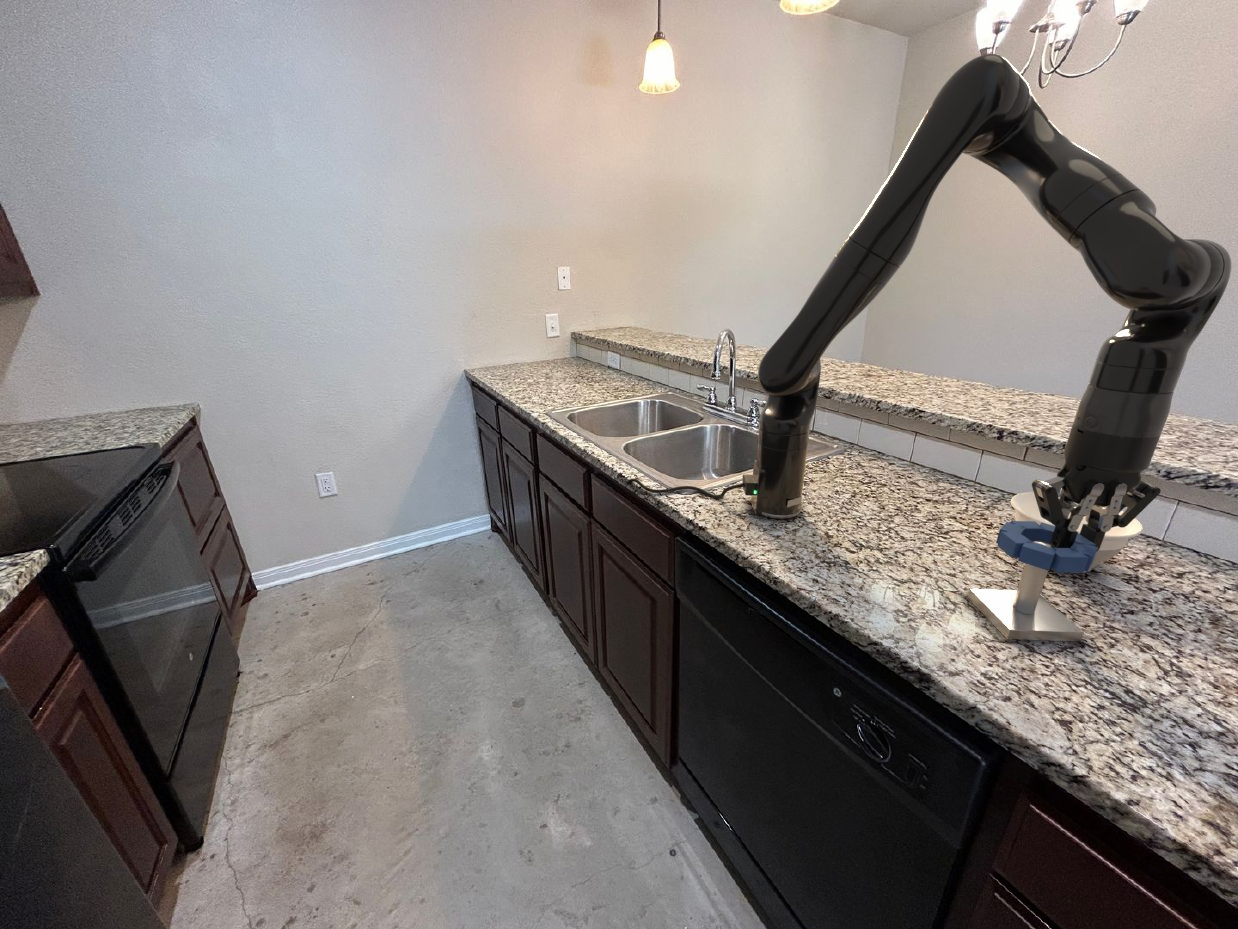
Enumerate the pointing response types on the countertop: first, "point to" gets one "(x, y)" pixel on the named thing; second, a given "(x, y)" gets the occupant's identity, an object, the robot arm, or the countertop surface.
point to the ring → (1044, 547)
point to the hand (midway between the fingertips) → (1071, 552)
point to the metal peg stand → (1025, 609)
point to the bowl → (1111, 541)
